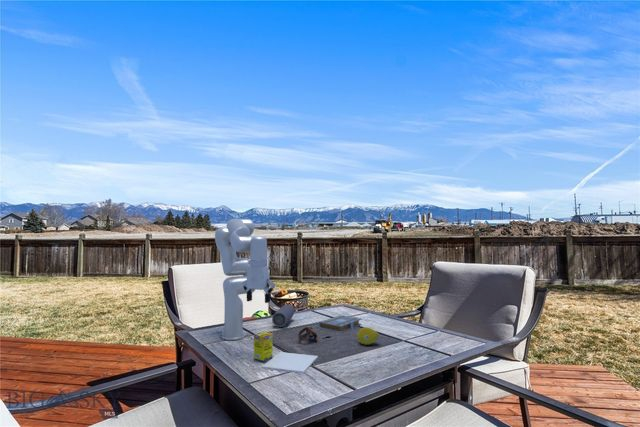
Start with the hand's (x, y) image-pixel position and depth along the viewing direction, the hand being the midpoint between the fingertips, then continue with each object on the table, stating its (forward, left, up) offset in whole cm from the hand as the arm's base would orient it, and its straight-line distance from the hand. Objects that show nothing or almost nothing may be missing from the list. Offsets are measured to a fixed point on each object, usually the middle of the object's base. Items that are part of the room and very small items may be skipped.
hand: (258, 301), depth 157 cm
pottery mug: (+15, +26, -24) cm, 38 cm away
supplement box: (+5, -4, -24) cm, 25 cm away
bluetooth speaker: (-10, +53, -24) cm, 59 cm away
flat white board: (+18, -4, -24) cm, 30 cm away
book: (+24, +57, -24) cm, 66 cm away
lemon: (+45, +29, -24) cm, 58 cm away
